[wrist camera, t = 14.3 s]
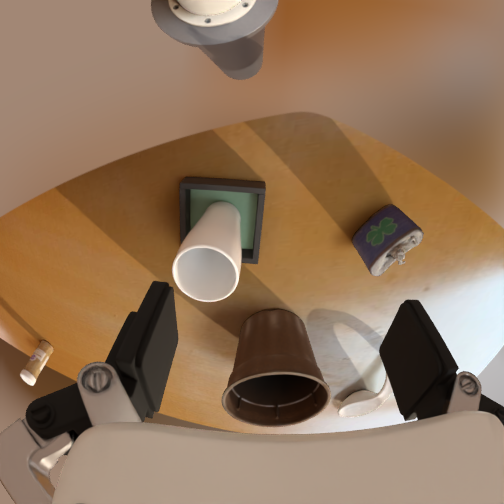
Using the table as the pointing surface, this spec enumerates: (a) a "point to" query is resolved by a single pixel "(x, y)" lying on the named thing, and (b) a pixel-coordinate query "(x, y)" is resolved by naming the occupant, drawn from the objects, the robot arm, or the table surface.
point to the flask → (386, 239)
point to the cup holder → (232, 191)
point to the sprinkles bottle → (36, 363)
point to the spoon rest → (364, 401)
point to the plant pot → (275, 373)
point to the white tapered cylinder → (210, 255)
